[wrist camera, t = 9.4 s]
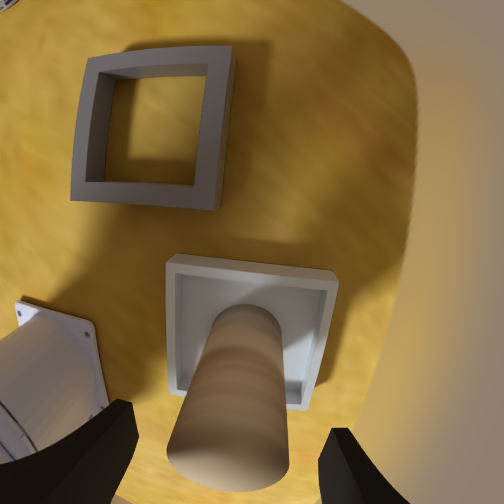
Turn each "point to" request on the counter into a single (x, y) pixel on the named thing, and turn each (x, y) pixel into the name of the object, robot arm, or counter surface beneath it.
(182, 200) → the gray square frame
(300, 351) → the tray
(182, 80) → the counter surface
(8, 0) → the energy drink
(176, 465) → the dowel pin
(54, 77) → the counter surface
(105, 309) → the counter surface
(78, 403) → the robot arm
